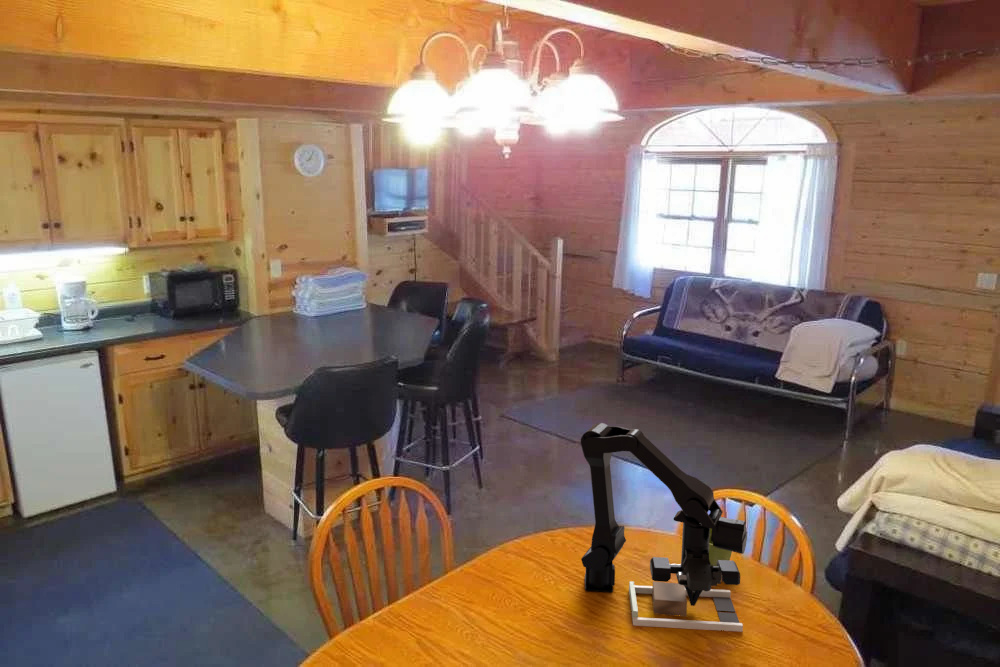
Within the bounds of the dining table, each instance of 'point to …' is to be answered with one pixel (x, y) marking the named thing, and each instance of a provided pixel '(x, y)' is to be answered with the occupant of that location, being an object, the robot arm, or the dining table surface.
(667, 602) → the walnut block
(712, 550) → the plant pot
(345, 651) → the dining table surface
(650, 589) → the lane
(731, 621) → the pads
